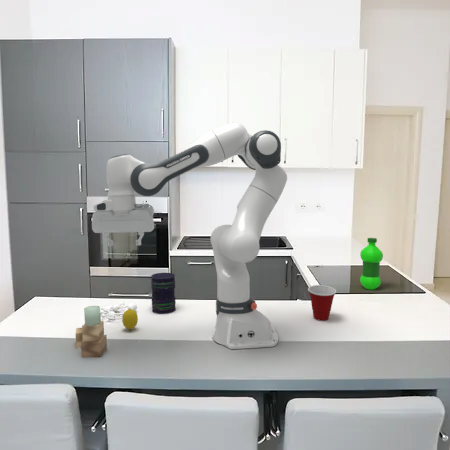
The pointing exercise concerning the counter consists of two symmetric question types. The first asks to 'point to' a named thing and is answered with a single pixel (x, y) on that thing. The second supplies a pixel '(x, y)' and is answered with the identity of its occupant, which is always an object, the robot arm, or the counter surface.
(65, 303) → the counter surface
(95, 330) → the tower block top
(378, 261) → the plastic bottle
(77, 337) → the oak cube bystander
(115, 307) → the tangled rod sculpture
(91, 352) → the tower block base
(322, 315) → the plastic cup
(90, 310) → the sage green cylinder
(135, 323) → the lemon
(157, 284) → the storage jar
